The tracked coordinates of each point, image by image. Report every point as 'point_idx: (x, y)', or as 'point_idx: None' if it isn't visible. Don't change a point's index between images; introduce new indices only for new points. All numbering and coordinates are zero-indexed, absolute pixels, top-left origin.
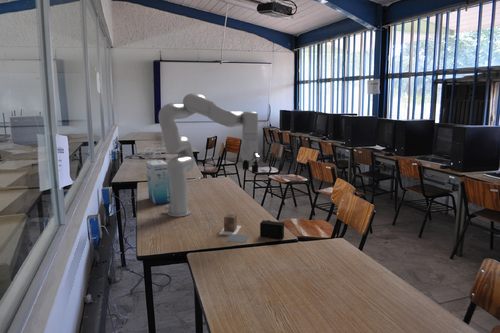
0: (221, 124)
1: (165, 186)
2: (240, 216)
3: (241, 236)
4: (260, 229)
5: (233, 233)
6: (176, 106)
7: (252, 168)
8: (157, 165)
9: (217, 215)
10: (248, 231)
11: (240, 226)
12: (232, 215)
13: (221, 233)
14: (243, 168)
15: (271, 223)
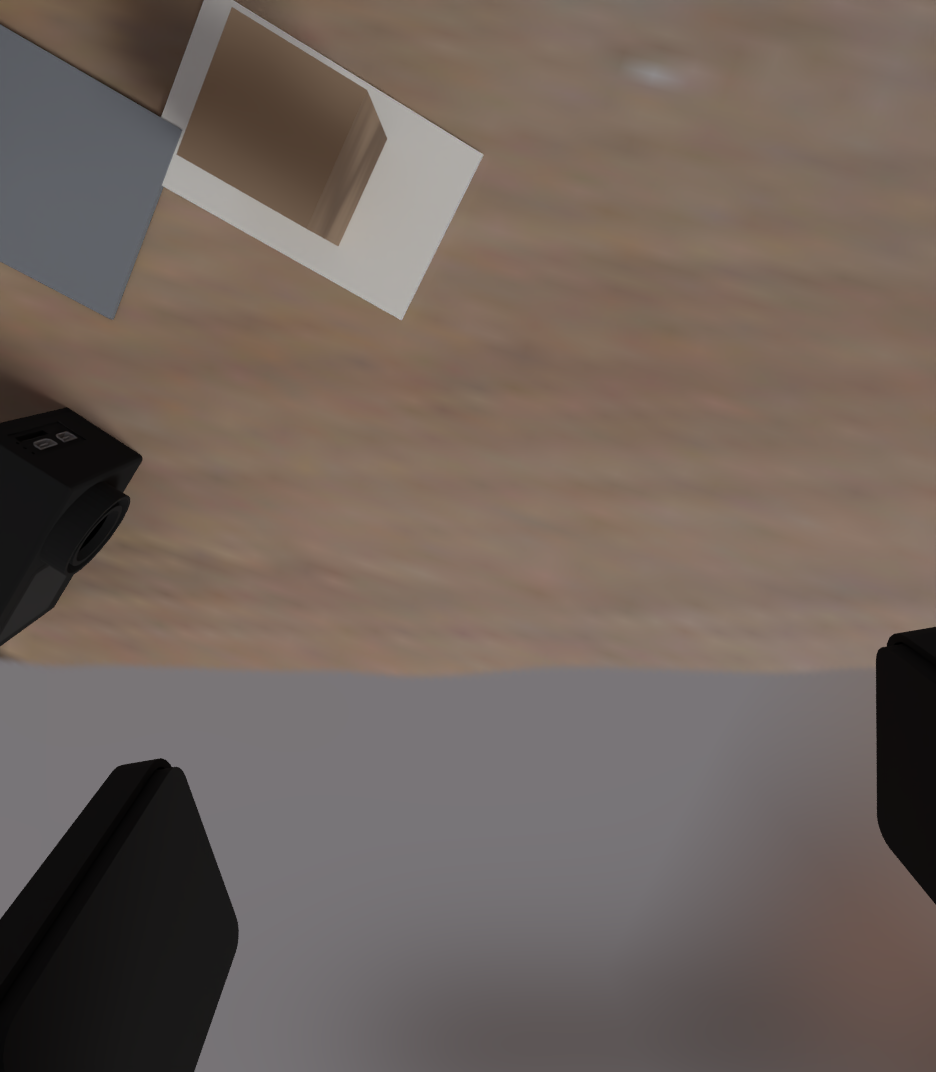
0: None
1: None
2: (709, 401)
3: (89, 226)
4: (20, 421)
5: (195, 166)
6: None
7: (18, 905)
8: None
9: (856, 142)
10: (238, 346)
11: (387, 304)
12: (281, 158)
13: (220, 23)
14: (921, 661)
15: None
